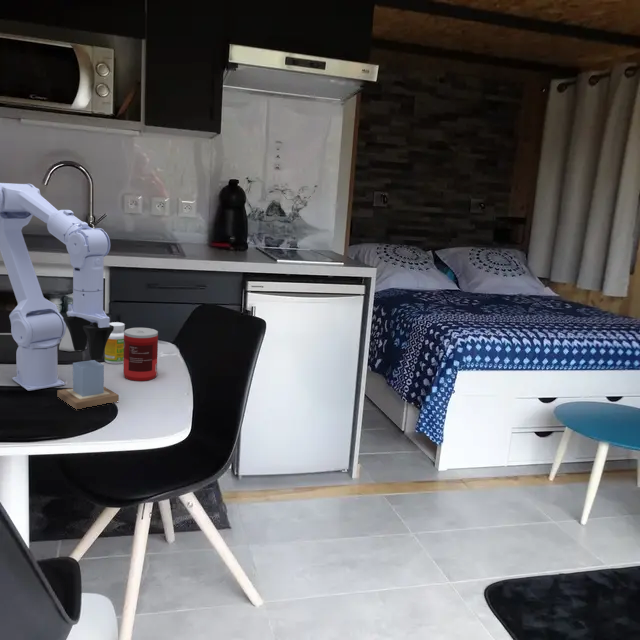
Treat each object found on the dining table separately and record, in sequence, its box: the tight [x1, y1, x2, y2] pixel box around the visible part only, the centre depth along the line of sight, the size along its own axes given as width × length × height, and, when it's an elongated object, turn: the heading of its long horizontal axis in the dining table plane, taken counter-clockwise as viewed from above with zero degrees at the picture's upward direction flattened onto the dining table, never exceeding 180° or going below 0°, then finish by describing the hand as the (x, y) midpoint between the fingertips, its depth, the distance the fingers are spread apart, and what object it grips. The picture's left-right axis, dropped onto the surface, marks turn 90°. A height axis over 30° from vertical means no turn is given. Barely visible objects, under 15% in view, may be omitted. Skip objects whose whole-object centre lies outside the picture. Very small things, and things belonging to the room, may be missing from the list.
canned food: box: [122, 327, 159, 382], centre depth 149 cm, size 8×8×11 cm
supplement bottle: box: [104, 321, 126, 365], centre depth 159 cm, size 5×5×10 cm
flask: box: [58, 315, 88, 352], centre depth 167 cm, size 7×7×10 cm
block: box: [72, 359, 105, 397], centre depth 131 cm, size 4×4×6 cm
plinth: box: [56, 386, 120, 411], centre depth 132 cm, size 9×9×2 cm
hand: (87, 354), depth 130 cm, fingers open, 7 cm apart
